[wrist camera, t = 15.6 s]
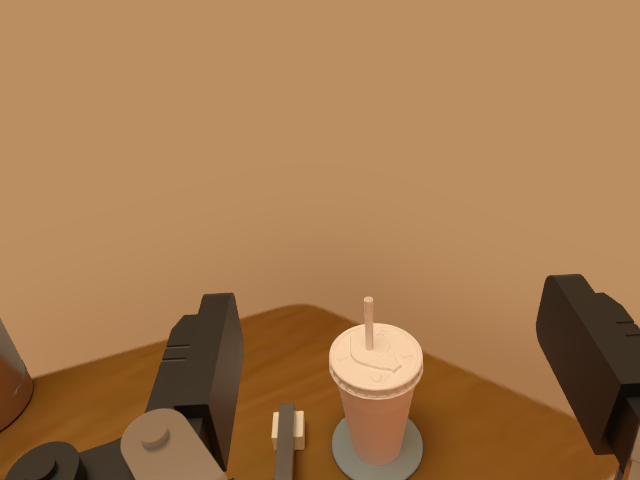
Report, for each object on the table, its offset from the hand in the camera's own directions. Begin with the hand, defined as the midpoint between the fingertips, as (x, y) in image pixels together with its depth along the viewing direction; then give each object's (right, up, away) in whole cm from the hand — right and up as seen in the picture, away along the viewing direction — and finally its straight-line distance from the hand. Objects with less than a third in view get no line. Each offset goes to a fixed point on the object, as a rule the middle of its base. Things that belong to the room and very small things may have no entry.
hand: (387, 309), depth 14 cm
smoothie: (+3, -14, +27) cm, 31 cm away
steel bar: (-4, -15, +24) cm, 29 cm away
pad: (+3, -14, +27) cm, 31 cm away
